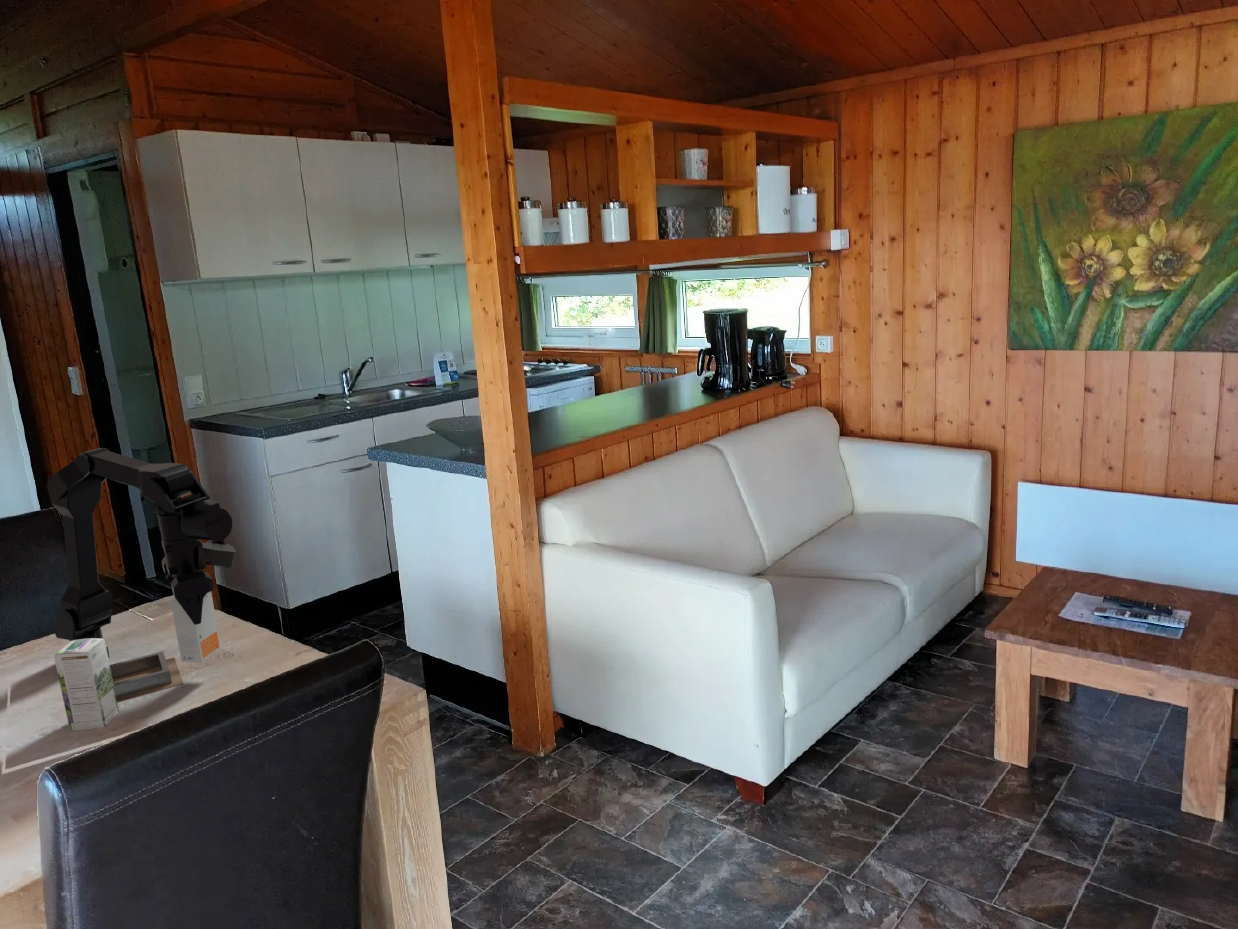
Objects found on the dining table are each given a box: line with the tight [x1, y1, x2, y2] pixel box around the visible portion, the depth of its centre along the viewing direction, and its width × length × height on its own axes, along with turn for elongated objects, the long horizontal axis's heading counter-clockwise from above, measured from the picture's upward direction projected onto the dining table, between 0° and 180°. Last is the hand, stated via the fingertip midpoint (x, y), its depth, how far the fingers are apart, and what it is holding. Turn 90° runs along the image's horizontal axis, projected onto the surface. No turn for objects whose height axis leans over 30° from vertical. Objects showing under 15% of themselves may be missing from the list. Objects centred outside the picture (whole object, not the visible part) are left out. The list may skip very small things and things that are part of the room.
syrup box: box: [53, 638, 120, 732], centre depth 155 cm, size 6×6×14 cm
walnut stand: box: [113, 657, 184, 704], centre depth 170 cm, size 14×14×1 cm
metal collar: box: [110, 650, 172, 699], centre depth 170 cm, size 10×10×2 cm
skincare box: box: [170, 591, 221, 663], centre depth 167 cm, size 6×4×12 cm
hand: (194, 617), depth 167 cm, fingers closed on skincare box, 7 cm apart
